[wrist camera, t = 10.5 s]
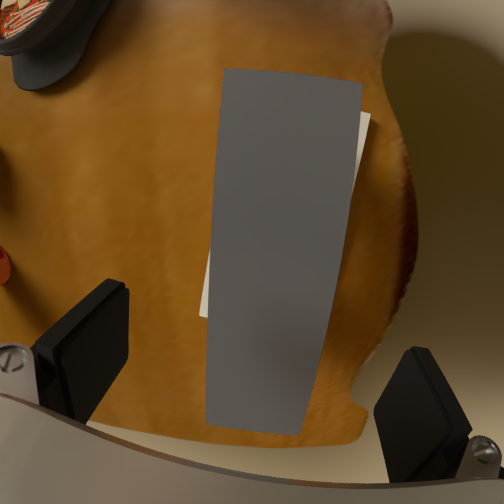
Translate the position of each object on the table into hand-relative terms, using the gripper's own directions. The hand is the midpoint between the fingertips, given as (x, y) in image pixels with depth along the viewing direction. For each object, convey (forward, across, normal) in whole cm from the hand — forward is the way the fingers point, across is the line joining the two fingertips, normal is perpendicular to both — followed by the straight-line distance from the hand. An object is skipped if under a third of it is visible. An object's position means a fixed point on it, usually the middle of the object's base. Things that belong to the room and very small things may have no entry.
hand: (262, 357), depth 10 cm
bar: (+13, 0, 0) cm, 13 cm away
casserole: (+24, +32, -22) cm, 45 cm away
